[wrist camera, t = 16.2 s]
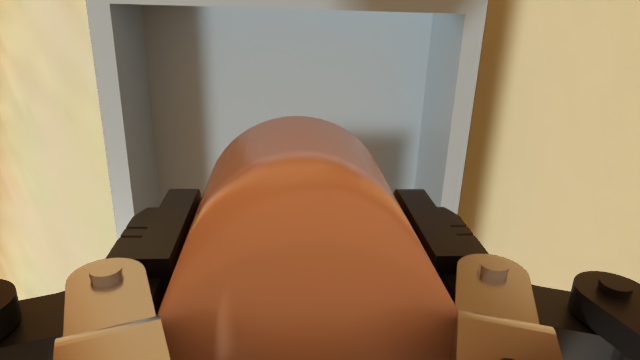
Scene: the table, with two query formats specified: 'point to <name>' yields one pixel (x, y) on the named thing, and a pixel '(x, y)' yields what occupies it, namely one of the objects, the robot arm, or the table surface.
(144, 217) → the robot arm
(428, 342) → the orange round part
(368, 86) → the tote
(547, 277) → the table surface
